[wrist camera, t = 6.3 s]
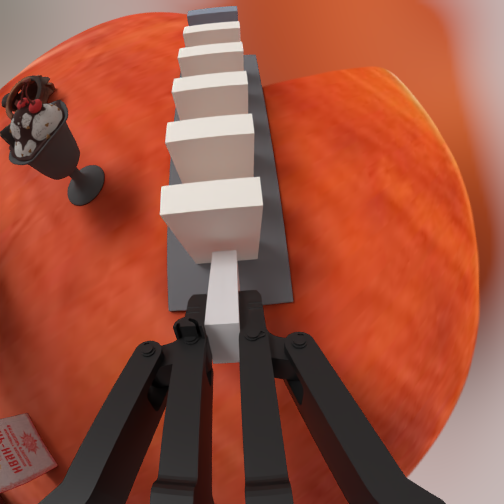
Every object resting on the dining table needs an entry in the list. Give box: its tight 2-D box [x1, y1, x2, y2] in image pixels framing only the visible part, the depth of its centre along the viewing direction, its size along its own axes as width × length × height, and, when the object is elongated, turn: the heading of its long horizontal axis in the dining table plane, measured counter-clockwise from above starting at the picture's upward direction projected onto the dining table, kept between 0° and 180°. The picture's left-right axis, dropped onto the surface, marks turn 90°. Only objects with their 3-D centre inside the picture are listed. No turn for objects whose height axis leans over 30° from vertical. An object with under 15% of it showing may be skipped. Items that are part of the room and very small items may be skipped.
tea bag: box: [0, 413, 58, 493], centre depth 12 cm, size 4×7×10 cm, turn 33°
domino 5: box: [165, 114, 254, 184], centre depth 19 cm, size 5×2×10 cm, turn 95°
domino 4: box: [172, 71, 248, 121], centre depth 21 cm, size 5×2×10 cm, turn 95°
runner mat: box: [167, 55, 293, 311], centre depth 26 cm, size 10×32×1 cm, turn 5°
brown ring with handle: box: [2, 75, 55, 121], centre depth 27 cm, size 12×10×8 cm
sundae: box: [0, 78, 104, 205], centre depth 18 cm, size 7×7×15 cm
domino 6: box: [160, 177, 263, 264], centre depth 18 cm, size 5×2×10 cm, turn 95°
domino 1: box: [187, 6, 238, 26], centre depth 24 cm, size 5×2×10 cm, turn 95°
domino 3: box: [178, 42, 244, 77], centre depth 22 cm, size 5×2×10 cm, turn 95°
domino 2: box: [183, 21, 240, 47], centre depth 23 cm, size 5×2×10 cm, turn 95°
